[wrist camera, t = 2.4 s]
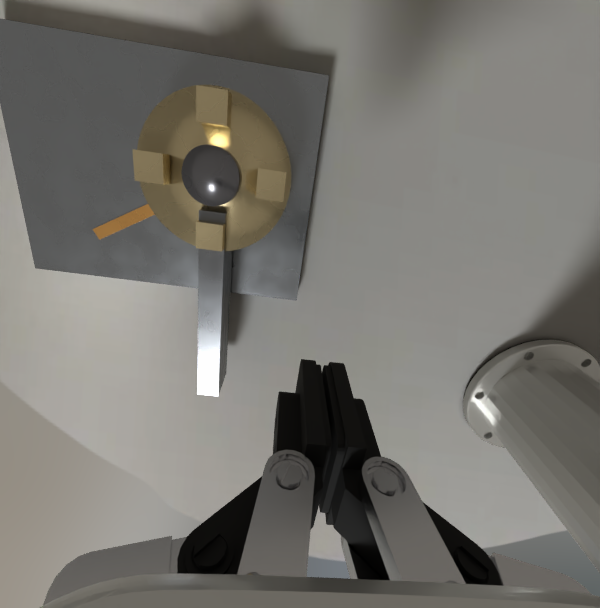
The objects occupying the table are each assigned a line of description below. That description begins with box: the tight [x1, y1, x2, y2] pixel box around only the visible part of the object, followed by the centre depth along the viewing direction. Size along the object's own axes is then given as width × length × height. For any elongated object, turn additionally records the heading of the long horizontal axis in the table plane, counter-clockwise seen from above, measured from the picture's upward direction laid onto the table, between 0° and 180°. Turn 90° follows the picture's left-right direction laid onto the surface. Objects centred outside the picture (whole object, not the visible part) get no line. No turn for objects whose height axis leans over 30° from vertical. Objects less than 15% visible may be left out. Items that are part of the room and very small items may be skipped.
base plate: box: [0, 19, 329, 300], centre depth 22 cm, size 20×15×2 cm
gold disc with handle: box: [132, 85, 292, 396], centre depth 21 cm, size 9×20×4 cm, turn 172°
